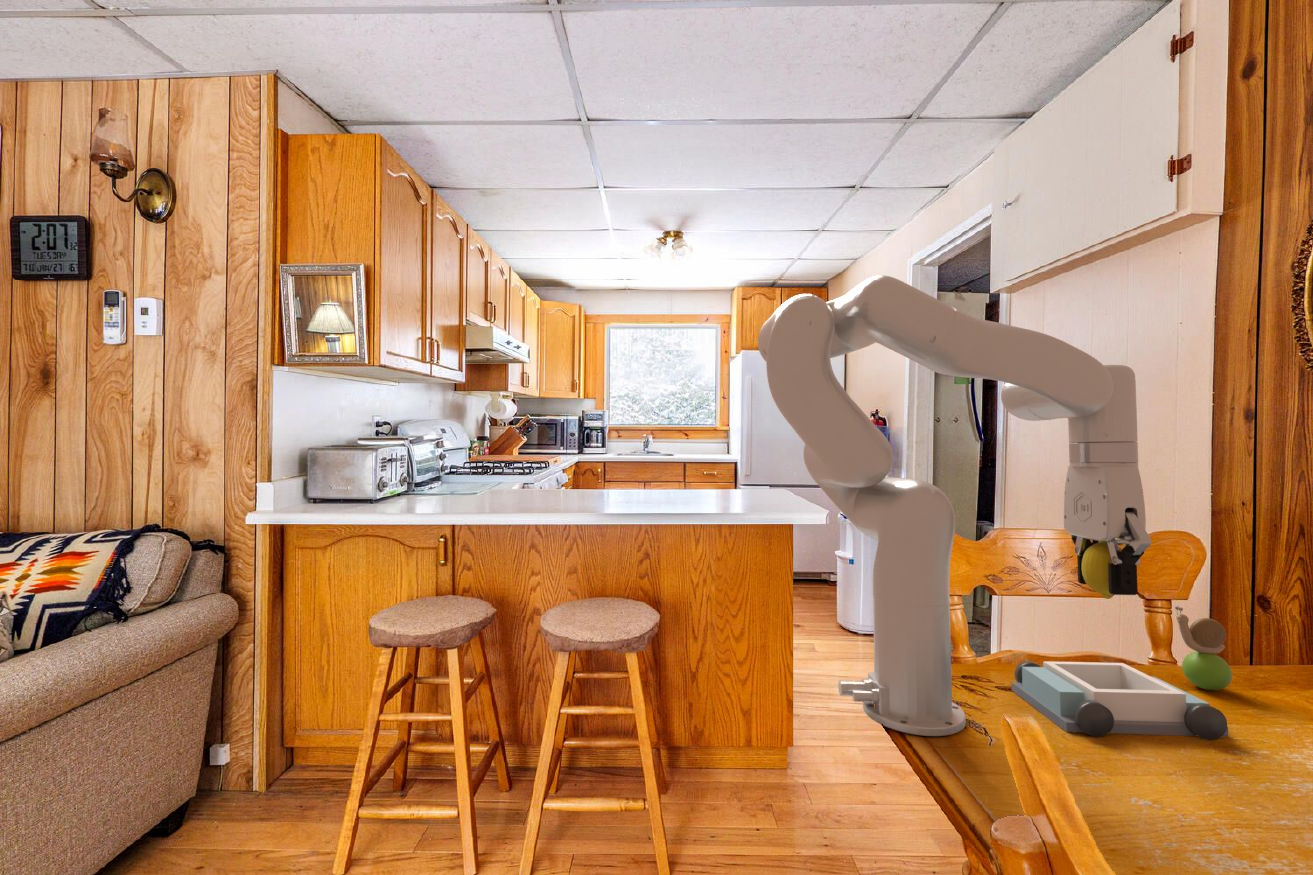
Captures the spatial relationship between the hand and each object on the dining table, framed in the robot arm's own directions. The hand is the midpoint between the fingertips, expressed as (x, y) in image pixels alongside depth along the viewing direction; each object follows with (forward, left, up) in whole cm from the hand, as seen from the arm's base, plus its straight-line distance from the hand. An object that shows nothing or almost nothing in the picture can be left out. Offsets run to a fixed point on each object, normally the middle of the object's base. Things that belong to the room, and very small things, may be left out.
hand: (1106, 587), depth 80 cm
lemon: (0, 0, -2) cm, 2 cm away
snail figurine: (+19, +9, -17) cm, 27 cm away
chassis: (0, 0, -17) cm, 17 cm away
